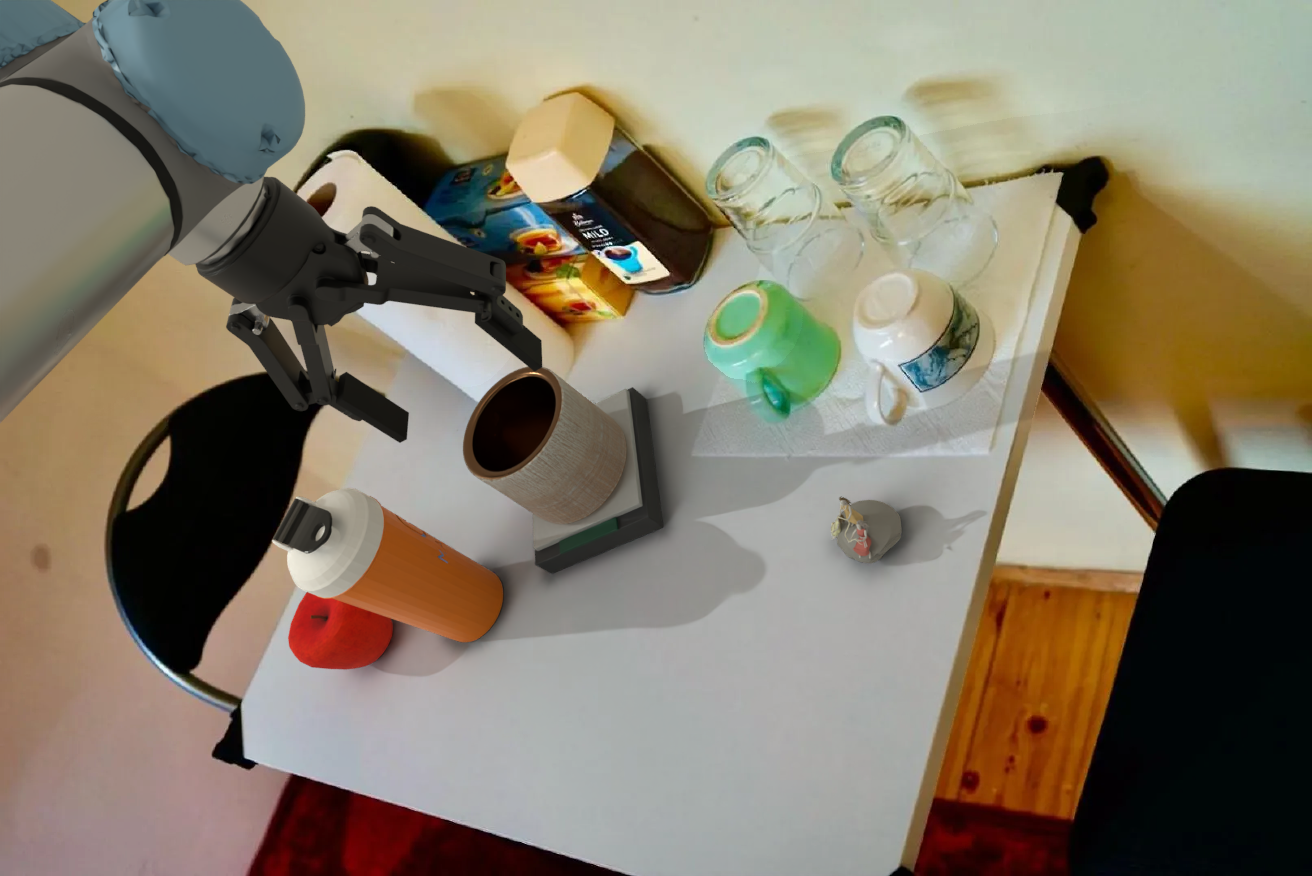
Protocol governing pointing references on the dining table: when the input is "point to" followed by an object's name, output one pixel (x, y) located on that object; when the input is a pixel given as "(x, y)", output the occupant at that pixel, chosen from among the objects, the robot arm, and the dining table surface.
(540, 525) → the scale
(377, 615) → the apple
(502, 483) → the planter
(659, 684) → the dining table surface
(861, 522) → the figurine
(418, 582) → the shaker bottle
